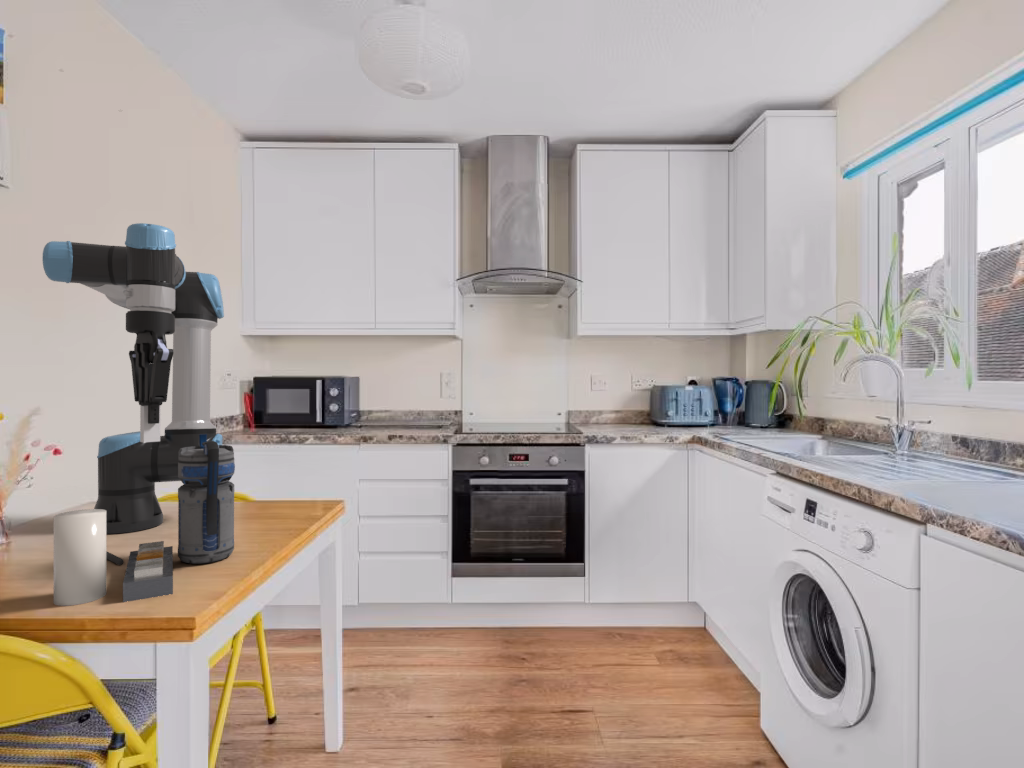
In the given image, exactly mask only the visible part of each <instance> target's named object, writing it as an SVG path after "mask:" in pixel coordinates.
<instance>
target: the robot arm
mask: <svg viewBox="0 0 1024 768" xmlns="http://www.w3.org/2000/svg"><path fill="white" fill-rule="evenodd" d="M125 235H126V236H125V238H126V239H125V241H124V245H125V246H123V245H108V244H107V245H106V244H105V245H104V244H96V243H84V242H73V241H70V240H67V241H56V240H54V241H53V240H52V241H48V242H47V243H46V244H45V245H44V247H43V250H42V265H43V266H42V267H43V270H44V273H45V275H46V277H47V278H48V280H51V281H53V282H59V283H66V284H70V283H71V284H80V285H83V286H85V287H86V288H87V287H88V288H89V289H92V290H94V291H97V292H98V293H101V294H103V295H104V296H105V297H106V299H108V300H109V301H110V302H111V303H113V304H115V305H116V306H119V307H122V308H124V309H127V310H128V311H127V312H125V330H126V331H127V333H131V334H135V335H136V339H135V343H134V346H133V350H129V352H128V357H129V360H130V364H131V365H130V366H131V374H132V375H131V376H132V385H133V395H134V396H133V398H134V401H135V402H137V403H138V405H139V406H140V411H139V412H140V413H139V414H140V415H139V416H140V417H139V419H140V421H139V422H140V427H139V428H140V430H139V431H132V432H125V433H119V434H114V435H109V436H105V437H103V438H101V440H100V441H99V443H98V452H97V455H96V456H97V500H96V503H95V506H94V508H93V509H103V510H106V535H108V534H109V535H110V534H124V533H133V532H138V531H143V530H149V529H152V528H155V527H158V526H161V525H162V524H163V523H164V514H163V510H162V508H161V505H160V502H159V500H158V498H157V495H156V491H155V490H156V488H155V487H156V483H163V482H164V483H169V482H182V481H181V480H180V479H179V478H178V461H179V450H180V449H181V448H184V447H191V446H198V443H199V434H207V441H215V442H217V443H218V445H223V439H224V438H223V435H222V434H220V433H217V427H216V425H215V424H213V423H212V422H211V365H212V364H211V358H212V357H211V356H212V355H211V354H212V353H211V351H212V349H211V348H212V346H211V345H212V343H211V341H212V339H211V338H212V331H213V329H215V328H216V327H217V326H218V319H219V320H220V319H223V318H224V317H225V313H224V302H223V297H222V295H223V294H222V290H221V285H220V282H219V278H218V277H217V276H216V275H214V274H212V273H205V272H200V271H186V268H185V265H184V262H183V261H182V259H181V258H180V257H179V256H177V253H176V248H177V244H176V238H175V232H174V231H173V230H172V229H171V228H169V227H166V226H163V225H159V224H153V223H142V222H141V223H139V222H138V223H137V222H136V223H131V224H130V225H129V226H127V228H126V234H125ZM126 331H125V332H126ZM167 335H169V336H170V335H173V337H172V338H173V339H172V348H168V346H167V339H166V338H167V337H166V336H167ZM171 365H172V384H171V385H172V388H171V389H172V390H171V391H172V392H171V394H172V399H171V422H170V423H169V424H168V425H166V427H164V435H161V406H162V405H163V403H166V402H167V400H168V391H169V383H170V374H171Z"/></svg>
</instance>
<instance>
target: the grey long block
mask: <svg viewBox="0 0 1024 768" xmlns="http://www.w3.org/2000/svg"><path fill="white" fill-rule="evenodd" d="M173 548H174V547H173V545H172V546H165V541H164V540H161V541H154V542H153V541H152V542H145V543H139V546H138V549H137V550H133V551H129V556H128V560H127V565H126V569H125V574H124V578H123V581H122V603H127V601H128V602H133V601H140V599H141V600H146V599H147V600H148V599H151V598H152V597H153V598H158V596H159V597H164V596H163V595H165V596H170V595H169V594H171V595H173V594H174V566H173V564H174V563H173V560H174V557H173V556H174V555H173V551H174V550H173Z"/></svg>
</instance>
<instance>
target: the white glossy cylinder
mask: <svg viewBox="0 0 1024 768" xmlns="http://www.w3.org/2000/svg"><path fill="white" fill-rule="evenodd" d="M106 551H107V534H106V510H103V509H94V508H87V509H78V510H77V509H76V510H71V511H70V510H69V511H66V512H61V513H57V514H55V515H54V516H53V604H54V605H55V606H59V607H62V606H63V607H66V606H67V607H69V606H78V605H83V604H88V603H91V602H95V601H97V600H100V599H102V598H104V597H105V596H106V595H107V559H106Z"/></svg>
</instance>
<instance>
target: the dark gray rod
mask: <svg viewBox="0 0 1024 768" xmlns="http://www.w3.org/2000/svg"><path fill="white" fill-rule="evenodd" d="M106 560H108V561H110V562H112V563H114V564H116V565H119V566H121V565H123V564H124V558H122V557H119V556H117V555H115V554H113V553H111V552H109V551H108V550H106Z"/></svg>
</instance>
